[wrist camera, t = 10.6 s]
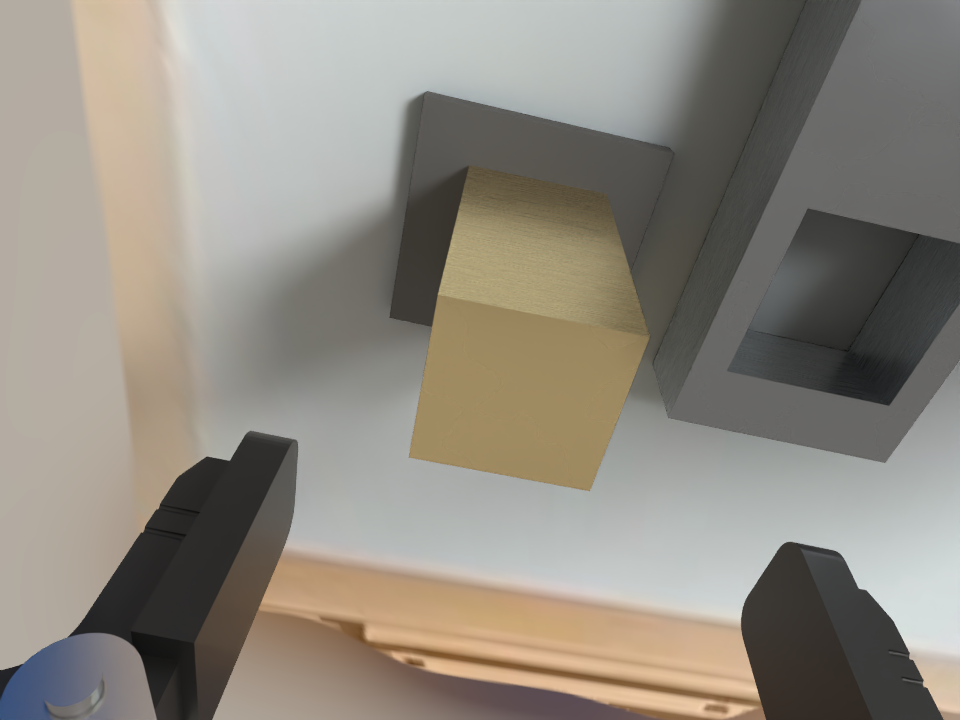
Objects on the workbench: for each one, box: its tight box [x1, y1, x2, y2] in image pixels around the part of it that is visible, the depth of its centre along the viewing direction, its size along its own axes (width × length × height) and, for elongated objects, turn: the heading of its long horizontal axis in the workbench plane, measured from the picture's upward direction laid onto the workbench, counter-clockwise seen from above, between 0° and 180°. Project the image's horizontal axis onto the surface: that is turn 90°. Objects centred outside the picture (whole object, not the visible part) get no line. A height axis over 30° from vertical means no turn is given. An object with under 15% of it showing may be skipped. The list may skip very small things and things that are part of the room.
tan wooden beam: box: [409, 165, 650, 491], centre depth 17 cm, size 4×4×8 cm
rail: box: [653, 0, 960, 463], centre depth 16 cm, size 7×21×3 cm, turn 168°
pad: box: [390, 91, 674, 326], centre depth 20 cm, size 7×7×1 cm
